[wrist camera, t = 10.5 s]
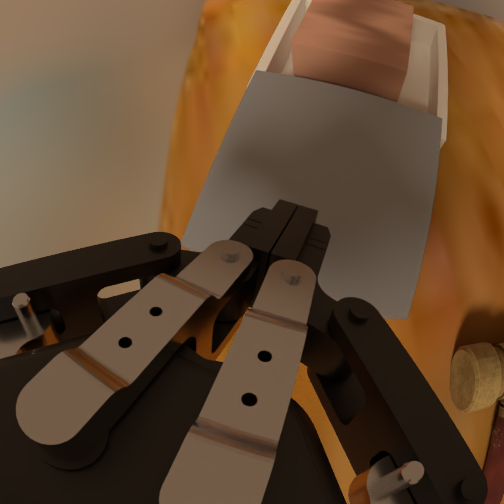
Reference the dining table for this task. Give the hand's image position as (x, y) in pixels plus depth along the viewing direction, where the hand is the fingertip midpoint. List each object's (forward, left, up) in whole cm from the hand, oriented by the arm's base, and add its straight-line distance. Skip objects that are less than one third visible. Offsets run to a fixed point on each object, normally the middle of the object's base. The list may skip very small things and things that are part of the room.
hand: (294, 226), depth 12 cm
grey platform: (0, -4, -10) cm, 10 cm away
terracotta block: (0, -11, -5) cm, 12 cm away
